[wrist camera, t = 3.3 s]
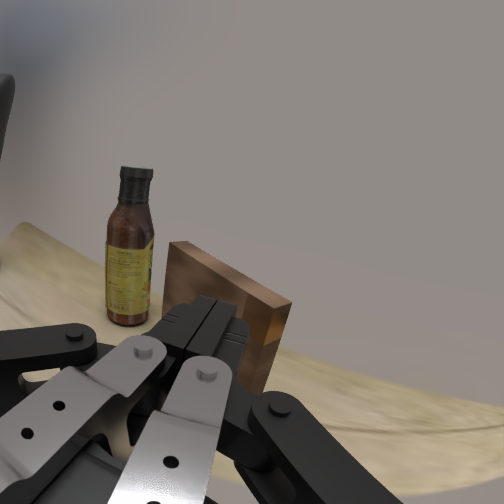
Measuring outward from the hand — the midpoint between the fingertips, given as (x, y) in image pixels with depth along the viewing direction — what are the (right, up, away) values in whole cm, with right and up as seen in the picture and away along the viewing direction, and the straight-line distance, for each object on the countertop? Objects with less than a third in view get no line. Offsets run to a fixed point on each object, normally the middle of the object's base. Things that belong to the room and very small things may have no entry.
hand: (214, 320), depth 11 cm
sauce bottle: (-16, -6, +25) cm, 31 cm away
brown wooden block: (-4, -10, +15) cm, 19 cm away
